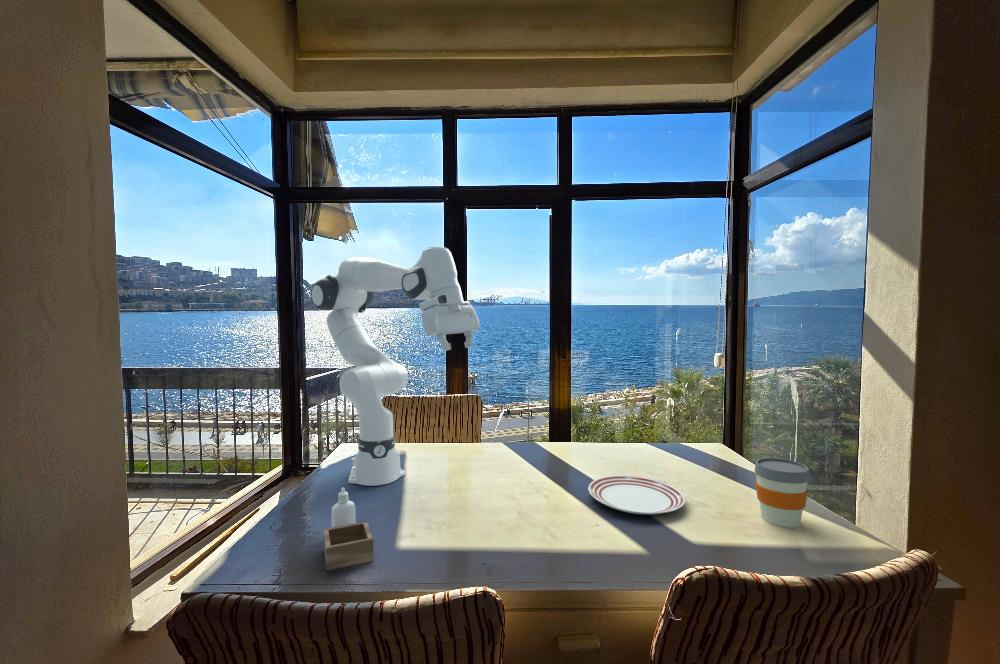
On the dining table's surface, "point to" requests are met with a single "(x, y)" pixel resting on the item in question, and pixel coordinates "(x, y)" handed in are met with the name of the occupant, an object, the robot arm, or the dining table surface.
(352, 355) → the robot arm
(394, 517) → the dining table surface
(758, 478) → the reusable coffee cup
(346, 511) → the eye dropper bottle
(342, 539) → the small open wooden box
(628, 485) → the dinner plate
